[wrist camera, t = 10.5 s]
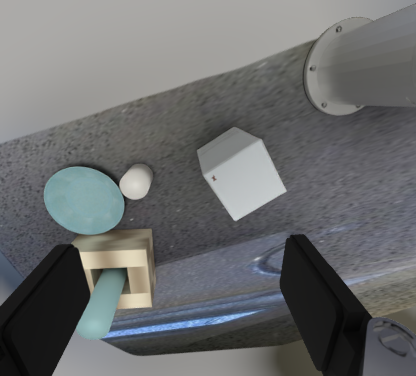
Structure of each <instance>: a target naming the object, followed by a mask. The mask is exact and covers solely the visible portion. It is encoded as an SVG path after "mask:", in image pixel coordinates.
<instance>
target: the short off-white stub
mask: <svg viewBox="0 0 416 376" xmlns="http://www.w3.org/2000/svg"><path fill="white" fill-rule="evenodd" d="M152 180H153V172H152V170H151V169H150V168H149V167H148V166H147V165H145V164H140V163H139V164H135V165H133V166H131V167H130V169H129V170H128V171H127V172H126V174H125V175H124V176H123V177H122V179H121V180H120V190H121V192H122V193H123V194H124V195H125V196H126V197H128V198H130V199H140V198H143V197H144V196H145V195H146V194H147V192H148V190H149V187H150V185H151V182H152Z"/></svg>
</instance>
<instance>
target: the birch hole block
mask: <svg viewBox="0 0 416 376" xmlns="http://www.w3.org/2000/svg"><path fill="white" fill-rule="evenodd" d="M71 244H73V245H74V247H77V248H78V250H79V253H80V257H81V260H82V264H83V267H84V271H85V274H86V278H87V282H88V285H89V289H90V293H91V294H92V292H93V290H94V288H95V286H96V284H97V282H98V280H99V278H100V276H101V273H102V271H103V269H104V268H120V267H127V270H128V274H127V277H126V280H125V283H124V287H123V290H122V293H121V296H120V299H119V302H118V305H117V308H116V309H126V308H141V307H152V303H153V297H154V290H155V284H156V275H155V263H154V251H153V240H152V229H126V230H108V231H106V232H103V233H100V234H94V235H86V234H80V233H79V234H78V236H77V237H76V238H75V239H74V241H73V242H72V243H71Z"/></svg>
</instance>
